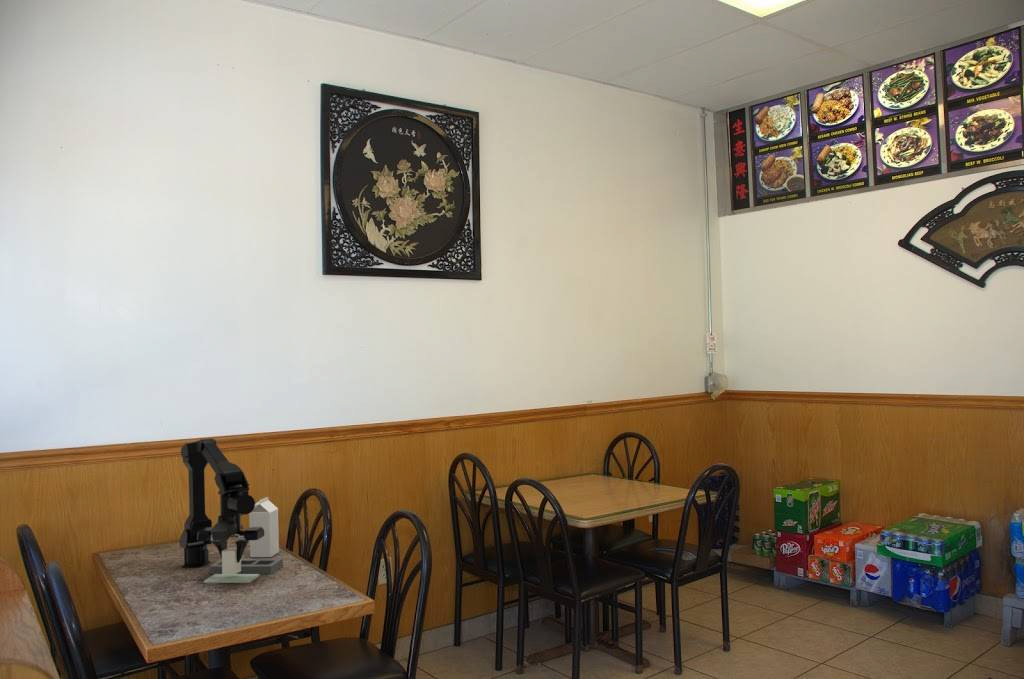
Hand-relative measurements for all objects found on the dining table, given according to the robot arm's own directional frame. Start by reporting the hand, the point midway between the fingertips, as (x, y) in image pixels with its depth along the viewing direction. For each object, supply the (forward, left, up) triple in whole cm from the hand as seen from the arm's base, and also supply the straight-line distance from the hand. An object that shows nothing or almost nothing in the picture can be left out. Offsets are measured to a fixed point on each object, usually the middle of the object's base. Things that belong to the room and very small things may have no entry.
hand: (231, 562), depth 233 cm
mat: (0, 0, -5) cm, 5 cm away
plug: (0, 0, -3) cm, 3 cm away
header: (0, +10, -5) cm, 11 cm away
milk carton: (-2, +28, -5) cm, 29 cm away
